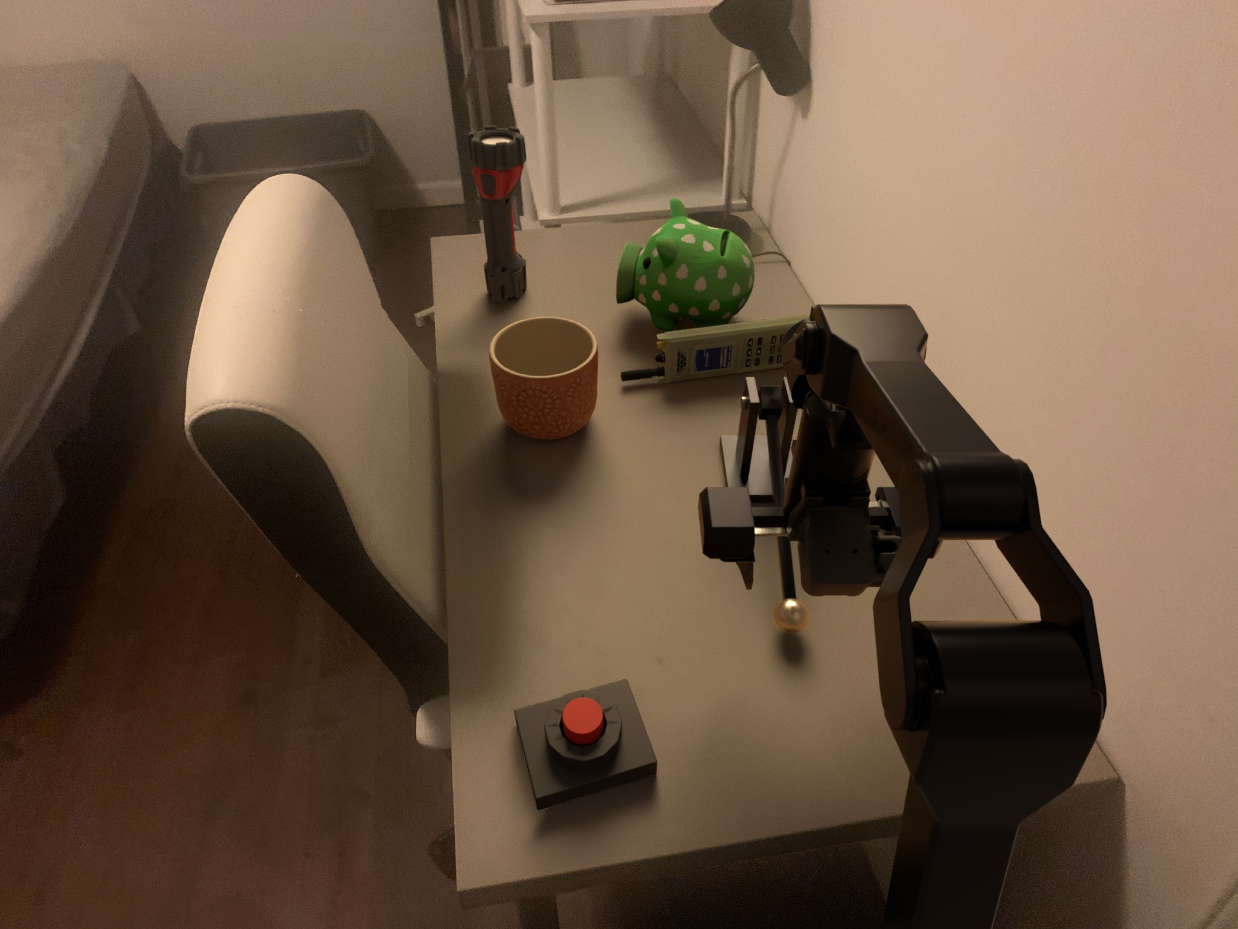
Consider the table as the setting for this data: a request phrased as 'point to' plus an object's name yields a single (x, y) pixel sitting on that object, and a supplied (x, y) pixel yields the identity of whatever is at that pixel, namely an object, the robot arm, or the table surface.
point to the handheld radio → (718, 350)
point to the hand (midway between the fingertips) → (800, 585)
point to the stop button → (582, 721)
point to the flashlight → (499, 206)
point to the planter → (545, 376)
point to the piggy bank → (687, 273)
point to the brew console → (584, 747)
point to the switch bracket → (756, 445)
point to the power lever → (789, 610)
